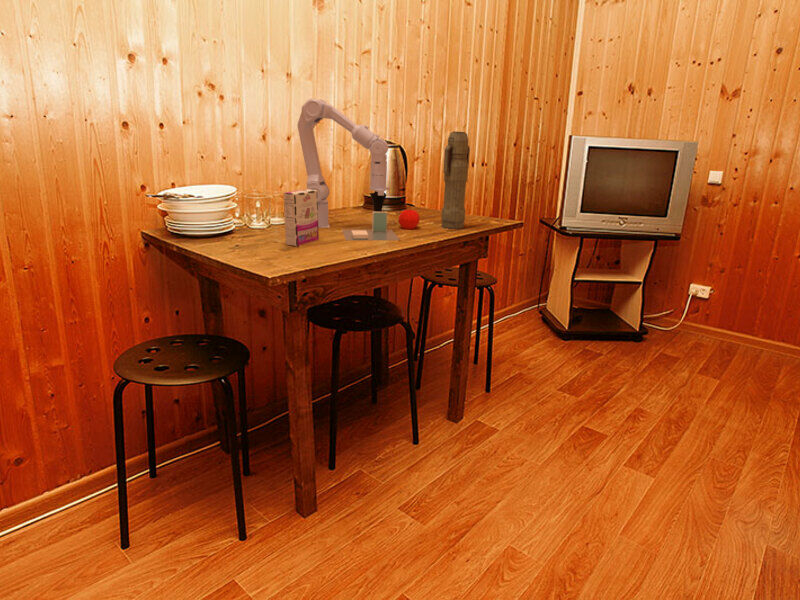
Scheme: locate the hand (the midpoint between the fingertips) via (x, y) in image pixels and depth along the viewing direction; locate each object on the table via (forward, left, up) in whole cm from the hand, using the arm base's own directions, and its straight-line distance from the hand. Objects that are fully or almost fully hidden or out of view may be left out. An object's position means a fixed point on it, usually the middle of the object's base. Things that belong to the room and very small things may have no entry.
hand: (377, 213), depth 194 cm
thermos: (+30, +7, -6) cm, 31 cm away
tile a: (-8, -11, -5) cm, 15 cm away
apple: (+12, +2, -6) cm, 14 cm away
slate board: (-4, -10, -6) cm, 13 cm away
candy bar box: (-27, -20, -6) cm, 34 cm away
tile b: (0, -5, -6) cm, 8 cm away
